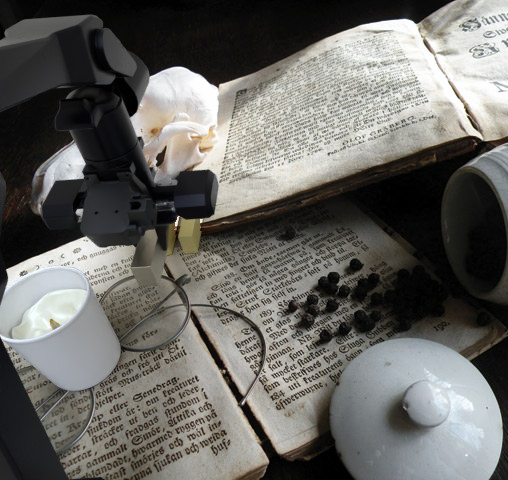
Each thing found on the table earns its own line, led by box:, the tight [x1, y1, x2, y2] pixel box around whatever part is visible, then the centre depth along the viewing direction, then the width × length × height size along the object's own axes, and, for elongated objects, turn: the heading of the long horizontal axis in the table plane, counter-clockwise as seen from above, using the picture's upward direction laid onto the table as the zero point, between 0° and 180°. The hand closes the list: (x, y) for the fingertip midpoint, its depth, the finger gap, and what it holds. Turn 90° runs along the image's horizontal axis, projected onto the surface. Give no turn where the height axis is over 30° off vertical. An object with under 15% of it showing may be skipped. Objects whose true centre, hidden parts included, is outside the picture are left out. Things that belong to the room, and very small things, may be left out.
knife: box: [129, 173, 172, 288], centre depth 62 cm, size 18×2×4 cm, turn 3°
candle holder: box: [0, 265, 122, 392], centre depth 53 cm, size 10×10×12 cm
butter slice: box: [177, 217, 202, 255], centre depth 71 cm, size 2×9×4 cm, turn 3°
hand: (155, 249), depth 60 cm, fingers closed on knife, 2 cm apart
